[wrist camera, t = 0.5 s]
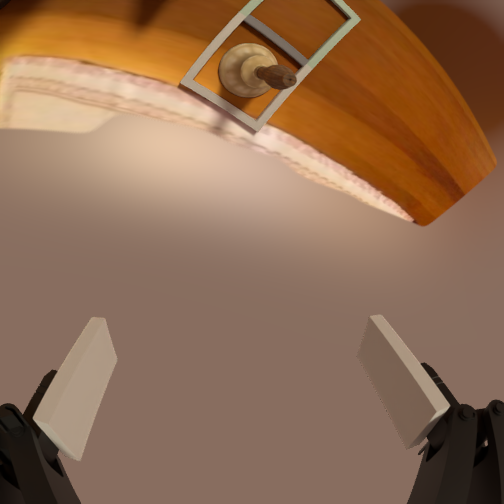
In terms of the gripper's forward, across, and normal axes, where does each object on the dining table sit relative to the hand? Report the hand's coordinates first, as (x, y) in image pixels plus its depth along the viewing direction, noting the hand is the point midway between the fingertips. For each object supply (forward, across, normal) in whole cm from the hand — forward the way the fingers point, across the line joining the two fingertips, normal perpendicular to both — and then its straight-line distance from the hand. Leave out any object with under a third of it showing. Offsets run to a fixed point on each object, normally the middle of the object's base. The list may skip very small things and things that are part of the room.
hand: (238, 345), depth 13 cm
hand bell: (+28, +2, +21) cm, 35 cm away
